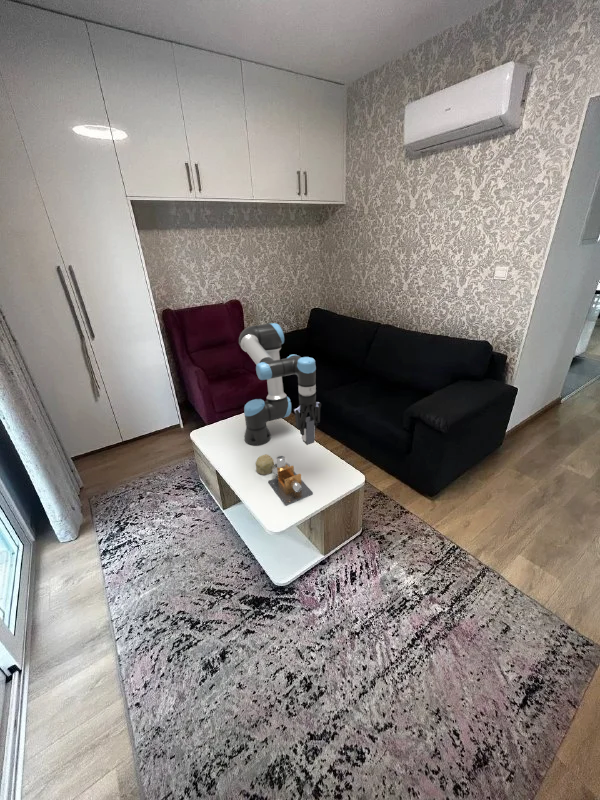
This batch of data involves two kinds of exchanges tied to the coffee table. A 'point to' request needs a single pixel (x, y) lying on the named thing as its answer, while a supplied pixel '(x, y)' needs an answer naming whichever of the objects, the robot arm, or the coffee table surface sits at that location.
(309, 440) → the dark gray rectangular block
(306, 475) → the coffee table surface
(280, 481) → the multicoloured piece
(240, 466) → the coffee table surface
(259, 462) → the decorative object
